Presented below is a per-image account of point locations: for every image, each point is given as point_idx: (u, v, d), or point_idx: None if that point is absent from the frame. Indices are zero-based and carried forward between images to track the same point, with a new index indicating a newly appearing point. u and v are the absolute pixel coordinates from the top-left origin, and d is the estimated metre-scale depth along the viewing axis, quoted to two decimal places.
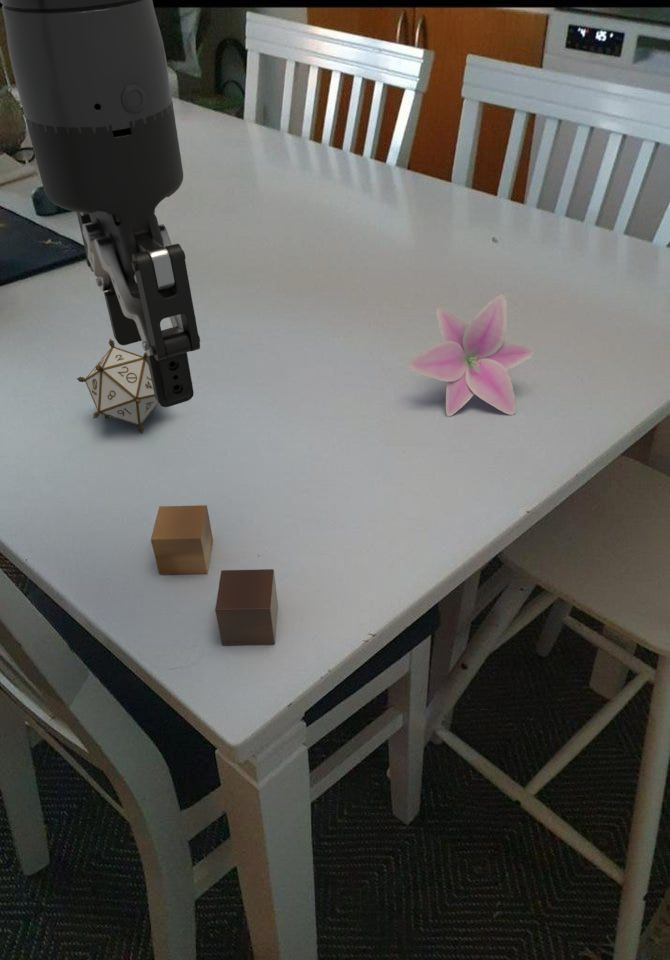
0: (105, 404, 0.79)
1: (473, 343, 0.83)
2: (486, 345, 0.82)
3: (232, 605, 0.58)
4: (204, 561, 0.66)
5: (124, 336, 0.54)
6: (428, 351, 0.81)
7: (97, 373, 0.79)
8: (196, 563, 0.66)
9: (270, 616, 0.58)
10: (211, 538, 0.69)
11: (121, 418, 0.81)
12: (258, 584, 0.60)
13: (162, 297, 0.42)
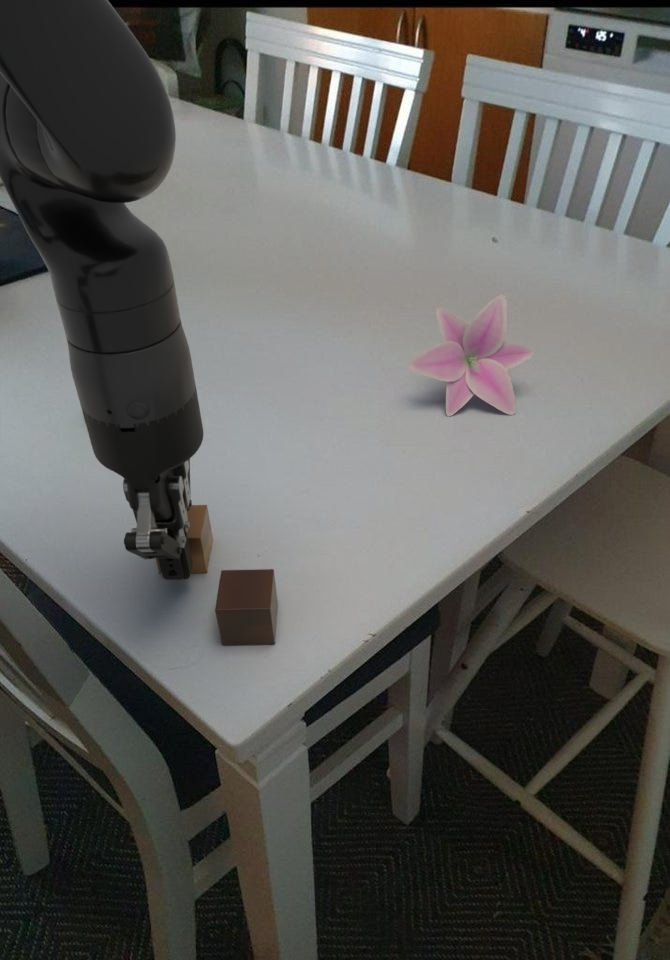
0: None
1: (473, 343, 0.83)
2: (486, 345, 0.82)
3: (232, 605, 0.58)
4: (204, 561, 0.66)
5: None
6: (428, 351, 0.81)
7: None
8: (196, 563, 0.66)
9: (270, 616, 0.58)
10: (211, 538, 0.69)
11: None
12: (258, 584, 0.60)
13: (147, 551, 0.56)
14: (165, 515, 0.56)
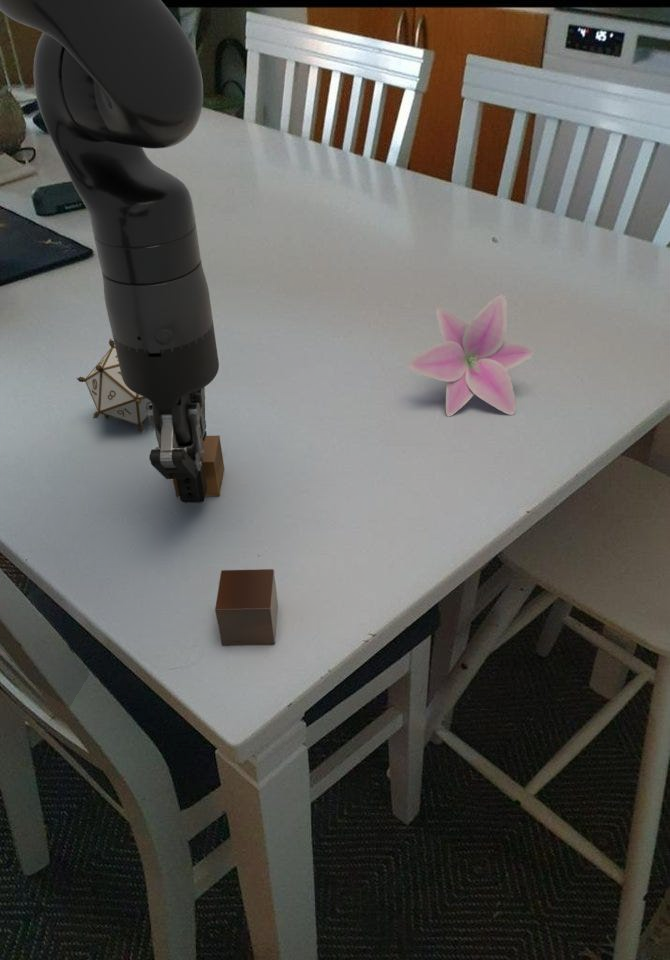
0: (105, 404, 0.79)
1: (473, 343, 0.83)
2: (486, 345, 0.82)
3: (232, 605, 0.58)
4: (217, 484, 0.73)
5: None
6: (428, 351, 0.81)
7: (97, 373, 0.79)
8: (209, 486, 0.73)
9: (270, 616, 0.58)
10: (223, 466, 0.76)
11: (121, 418, 0.81)
12: (258, 584, 0.60)
13: (169, 468, 0.63)
14: (185, 437, 0.64)
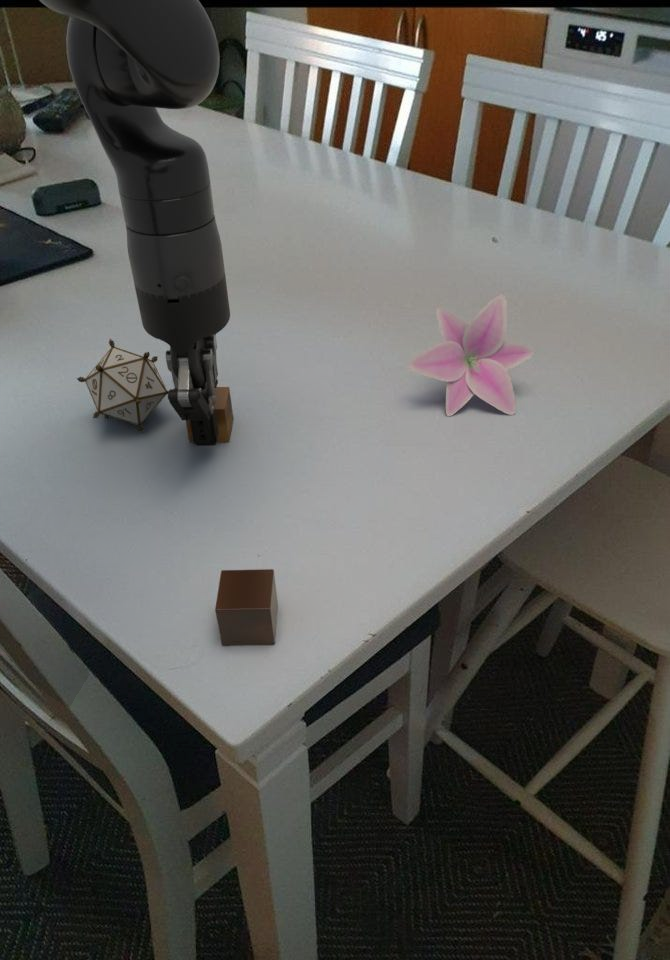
0: (105, 404, 0.79)
1: (473, 343, 0.83)
2: (486, 345, 0.82)
3: (232, 605, 0.58)
4: (227, 430, 0.79)
5: None
6: (428, 351, 0.81)
7: (97, 373, 0.79)
8: (220, 432, 0.80)
9: (270, 616, 0.58)
10: (232, 416, 0.82)
11: (121, 418, 0.81)
12: (258, 584, 0.60)
13: (185, 408, 0.70)
14: (199, 380, 0.70)
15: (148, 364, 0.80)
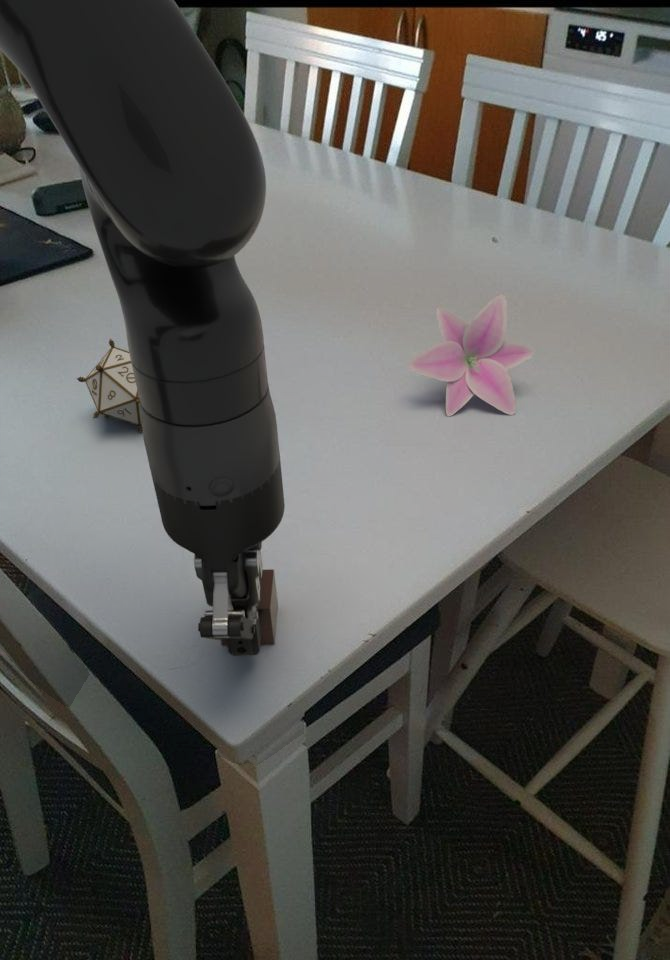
0: (105, 404, 0.79)
1: (473, 343, 0.83)
2: (486, 345, 0.82)
3: None
4: None
5: None
6: (428, 351, 0.81)
7: (97, 373, 0.79)
8: None
9: (270, 616, 0.59)
10: None
11: (121, 418, 0.81)
12: None
13: None
14: (241, 594, 0.50)
15: None
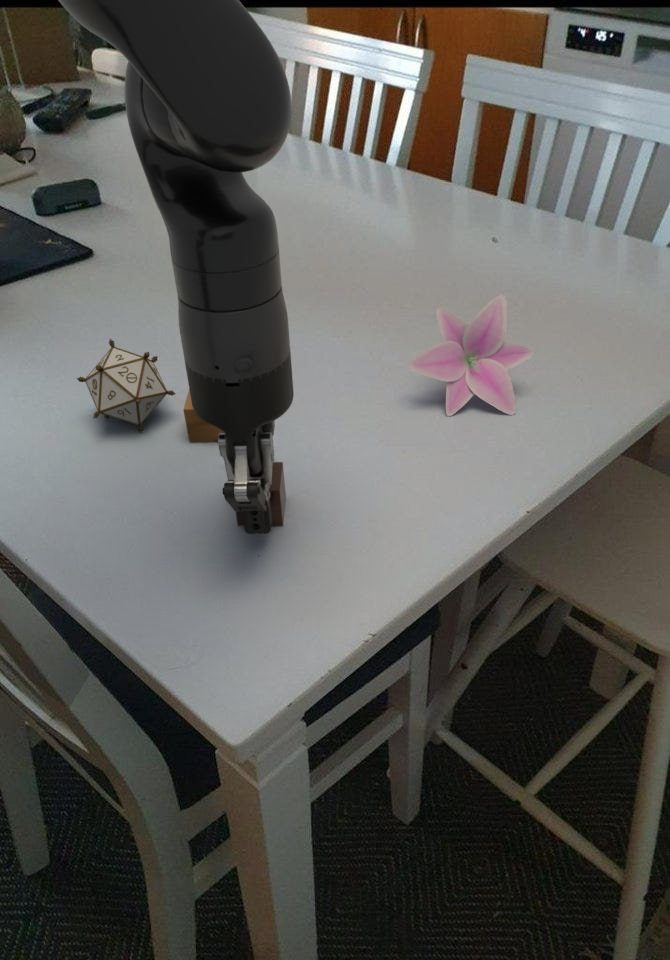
0: (105, 404, 0.79)
1: (473, 343, 0.83)
2: (486, 345, 0.82)
3: None
4: None
5: None
6: (428, 351, 0.81)
7: (97, 373, 0.79)
8: (220, 432, 0.80)
9: (279, 498, 0.69)
10: None
11: (121, 418, 0.81)
12: None
13: (241, 502, 0.60)
14: (257, 468, 0.60)
15: (148, 364, 0.80)
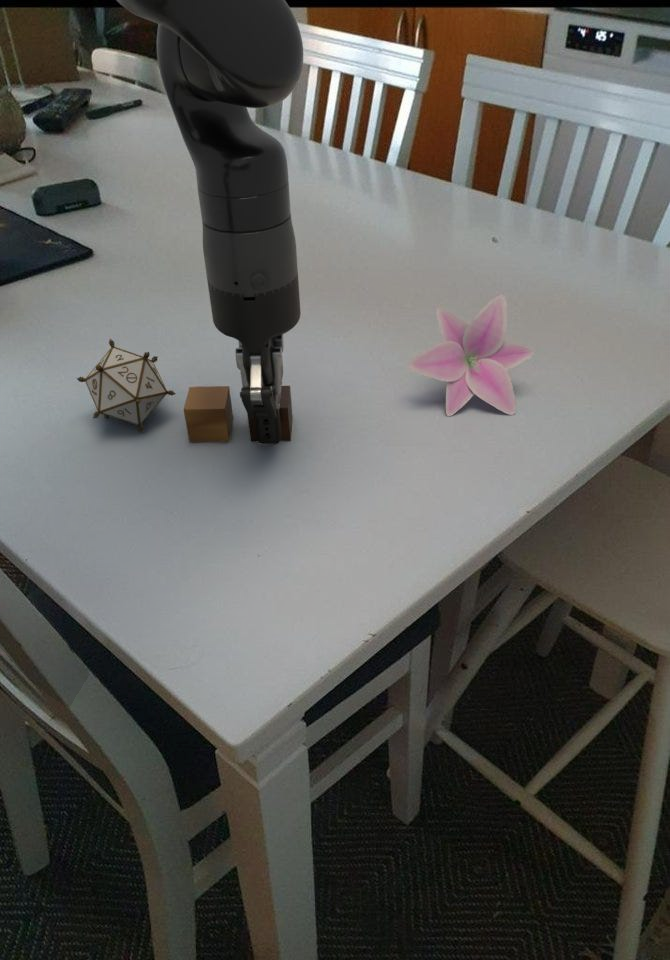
0: (105, 404, 0.79)
1: (473, 343, 0.83)
2: (486, 345, 0.82)
3: None
4: (227, 430, 0.79)
5: None
6: (428, 351, 0.81)
7: (97, 373, 0.79)
8: (220, 432, 0.80)
9: (287, 414, 0.78)
10: (232, 416, 0.83)
11: (121, 418, 0.81)
12: None
13: (255, 406, 0.69)
14: (269, 378, 0.70)
15: (148, 364, 0.80)
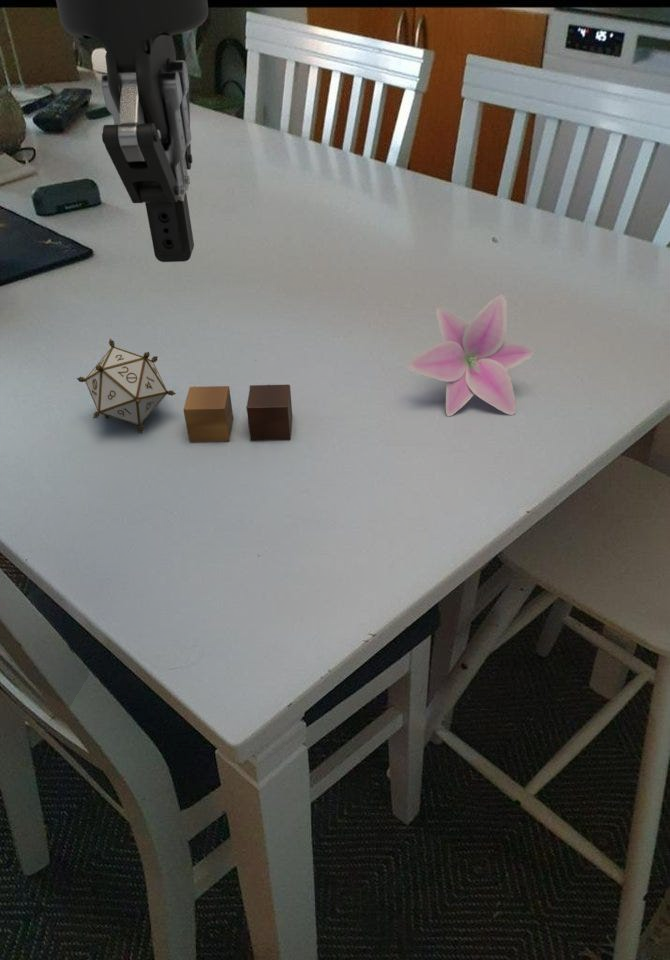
0: (105, 404, 0.79)
1: (473, 343, 0.83)
2: (486, 345, 0.82)
3: (259, 405, 0.78)
4: (227, 430, 0.79)
5: None
6: (428, 351, 0.81)
7: (97, 373, 0.79)
8: (220, 432, 0.80)
9: (287, 413, 0.78)
10: (232, 416, 0.83)
11: (121, 418, 0.81)
12: (278, 393, 0.80)
13: (134, 167, 0.42)
14: (158, 124, 0.42)
15: (148, 364, 0.80)
